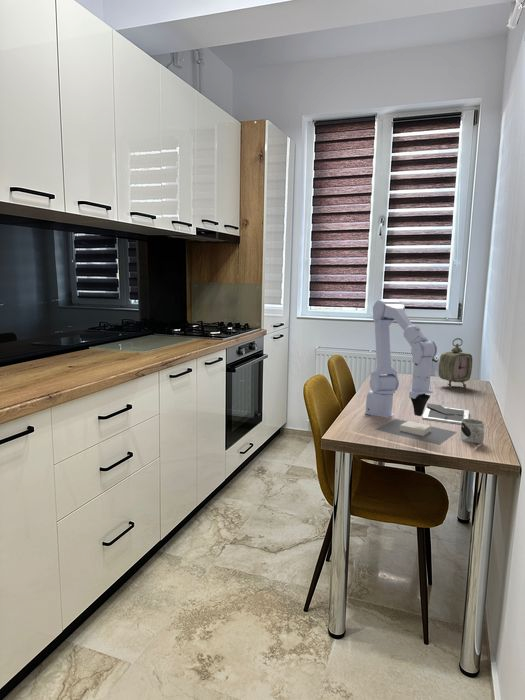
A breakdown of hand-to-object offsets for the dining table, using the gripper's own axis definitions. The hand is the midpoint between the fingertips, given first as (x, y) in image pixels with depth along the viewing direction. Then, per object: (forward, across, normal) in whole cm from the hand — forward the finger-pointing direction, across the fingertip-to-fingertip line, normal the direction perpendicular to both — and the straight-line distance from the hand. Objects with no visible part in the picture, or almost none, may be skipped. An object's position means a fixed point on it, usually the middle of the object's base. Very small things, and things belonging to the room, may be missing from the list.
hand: (418, 415), depth 164 cm
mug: (+6, +2, -18) cm, 19 cm away
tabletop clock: (+6, +88, +15) cm, 89 cm away
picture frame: (+7, +27, -1) cm, 28 cm away
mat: (+6, -1, 0) cm, 6 cm away
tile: (+4, +2, 0) cm, 5 cm away
